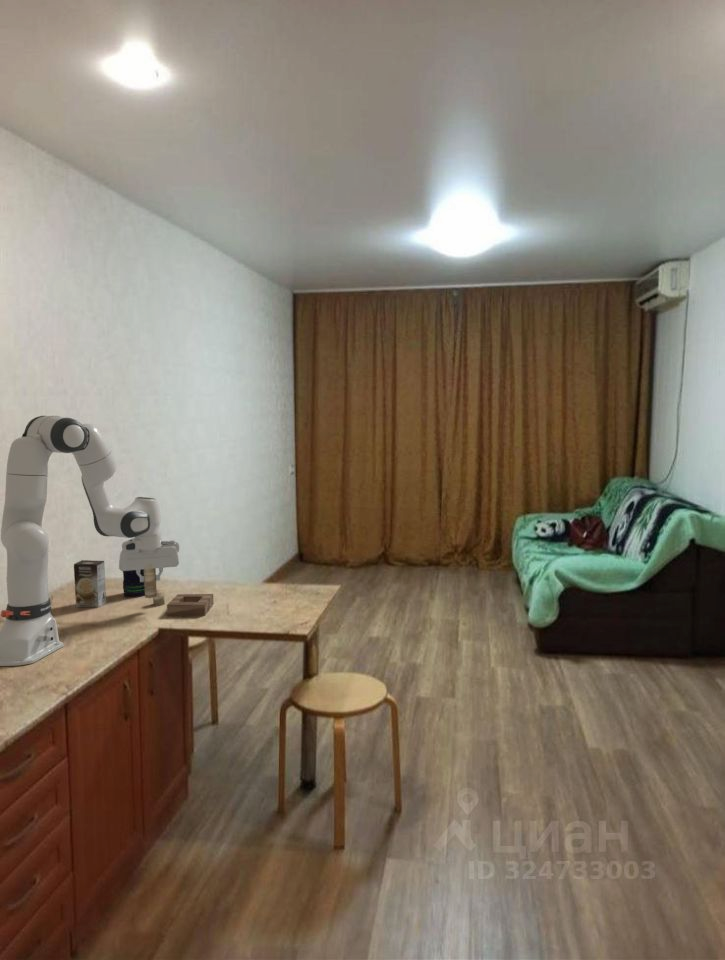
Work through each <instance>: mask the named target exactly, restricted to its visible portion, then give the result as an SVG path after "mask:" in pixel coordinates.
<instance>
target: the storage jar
mask: <svg viewBox="0 0 725 960" xmlns="http://www.w3.org/2000/svg"><path fill="white" fill-rule="evenodd" d="M140 574H141V576H144V569H142V570H140ZM122 575H123V576H122V578H123V580H122V588H123V589H122V590H123V596H124V597H126V598H141V597H145V586H144V582H140V577H139V576H138V575H137V573H136V570H130V571H122Z"/></svg>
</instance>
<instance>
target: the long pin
mask: <svg viewBox="0 0 725 960" xmlns="http://www.w3.org/2000/svg"><path fill="white" fill-rule="evenodd" d="M156 570H157V568H154V569H153V568H152V564H147V569H144V586H145V596H144V597H145V598H147V599H153V598H154V597H156V596H157V590H158V589H157V581H156V575H157V571H156Z"/></svg>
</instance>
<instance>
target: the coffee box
mask: <svg viewBox="0 0 725 960" xmlns="http://www.w3.org/2000/svg"><path fill="white" fill-rule="evenodd" d="M105 569H106V568H105V560H91V559H90V560H88V559H87V560H86V559H85V560H84V559H81V560H79V561H77V562H75V563H73V574H74V575H73V576H74V593H75V595H74V596H75V607H76V608H100V607H102V606H103V605H105V604H106V603H107V592H106V572H105V571H106V570H105Z"/></svg>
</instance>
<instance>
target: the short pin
mask: <svg viewBox="0 0 725 960" xmlns="http://www.w3.org/2000/svg"><path fill="white" fill-rule="evenodd" d="M152 603H153V605H152V606H155V607H157V606H159V607H160V606H164V605H165V604H166V603H165V590H164V589H160V588H159V589H157V596H156V597H154V598H152Z"/></svg>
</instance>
